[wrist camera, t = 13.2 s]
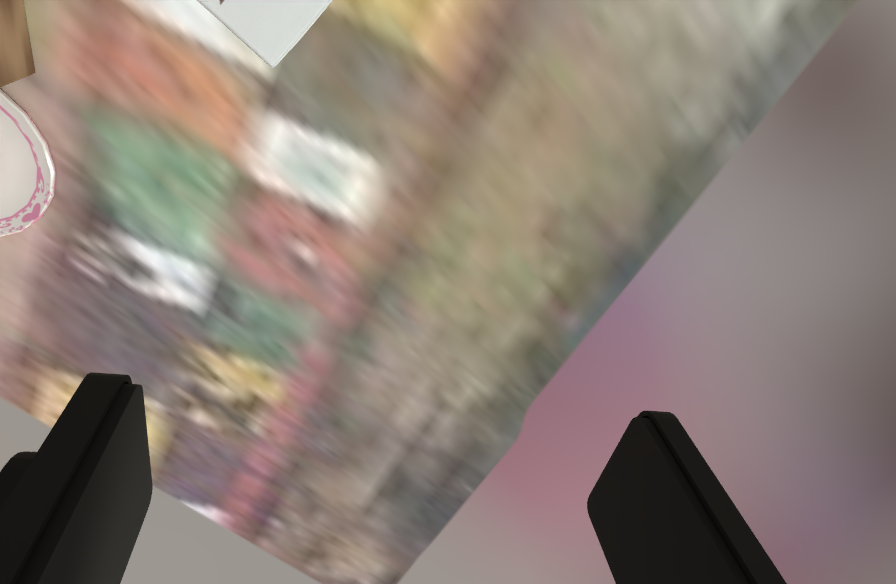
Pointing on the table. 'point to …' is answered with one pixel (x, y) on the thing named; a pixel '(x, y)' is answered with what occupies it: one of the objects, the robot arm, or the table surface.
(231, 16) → the skincare box
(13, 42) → the walnut base
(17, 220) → the teacup
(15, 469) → the robot arm
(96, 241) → the table surface
